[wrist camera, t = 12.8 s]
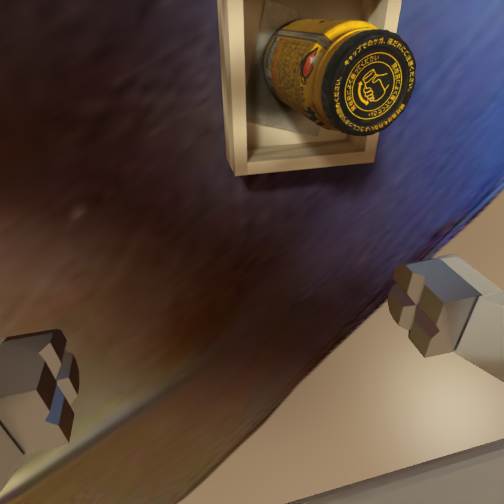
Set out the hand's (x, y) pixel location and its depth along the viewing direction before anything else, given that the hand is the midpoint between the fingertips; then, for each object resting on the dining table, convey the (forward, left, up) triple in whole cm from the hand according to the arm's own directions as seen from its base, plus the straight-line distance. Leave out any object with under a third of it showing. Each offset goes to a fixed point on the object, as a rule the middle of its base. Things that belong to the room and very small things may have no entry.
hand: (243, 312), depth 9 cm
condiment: (-2, +9, -24) cm, 26 cm away
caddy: (-2, +9, -25) cm, 27 cm away
